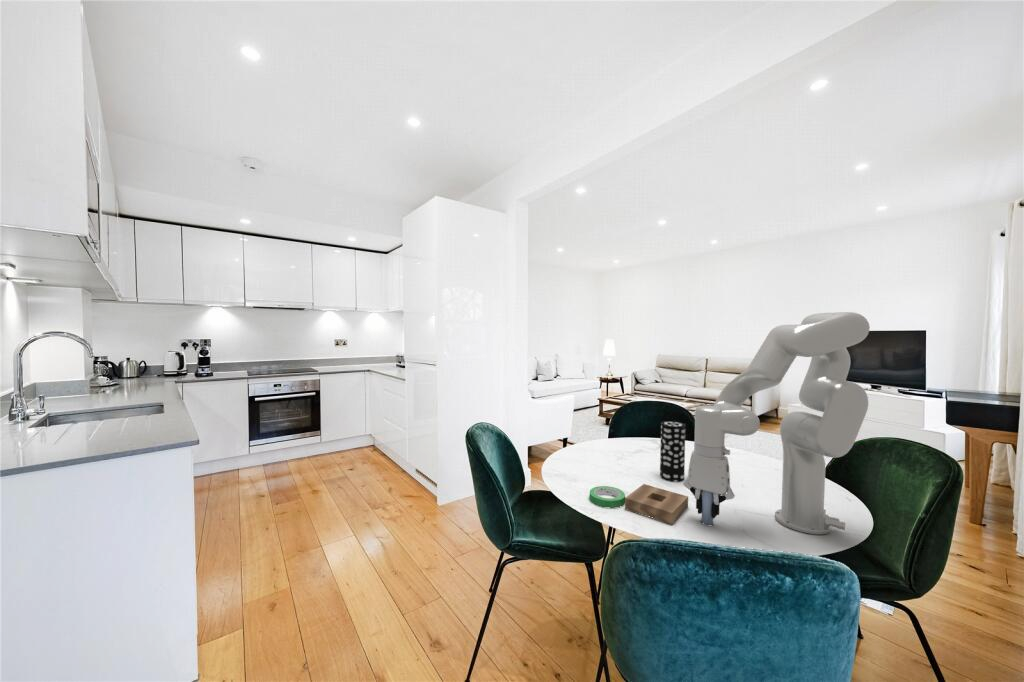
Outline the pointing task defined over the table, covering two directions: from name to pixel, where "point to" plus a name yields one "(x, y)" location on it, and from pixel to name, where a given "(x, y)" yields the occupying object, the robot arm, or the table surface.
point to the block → (657, 503)
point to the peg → (707, 507)
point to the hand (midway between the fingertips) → (707, 513)
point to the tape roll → (607, 501)
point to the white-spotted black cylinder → (672, 451)
